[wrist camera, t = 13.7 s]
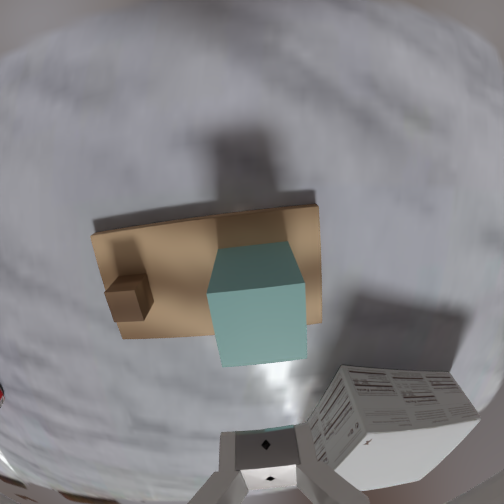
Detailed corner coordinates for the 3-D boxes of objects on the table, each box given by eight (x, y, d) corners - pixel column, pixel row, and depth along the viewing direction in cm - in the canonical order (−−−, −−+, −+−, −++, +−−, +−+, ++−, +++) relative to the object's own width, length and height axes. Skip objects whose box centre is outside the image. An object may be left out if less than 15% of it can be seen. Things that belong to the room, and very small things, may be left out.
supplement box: (295, 436, 32) (304, 497, 23) (339, 362, 28) (366, 433, 19) (399, 435, 34) (419, 482, 25) (450, 370, 30) (484, 419, 21)
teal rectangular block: (217, 249, 22) (206, 293, 16) (287, 241, 22) (305, 282, 16) (228, 309, 24) (222, 367, 18) (292, 302, 24) (307, 358, 17)
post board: (95, 232, 23) (50, 263, 16) (315, 203, 22) (343, 228, 16) (126, 333, 26) (99, 381, 20) (319, 316, 26) (339, 368, 19)
